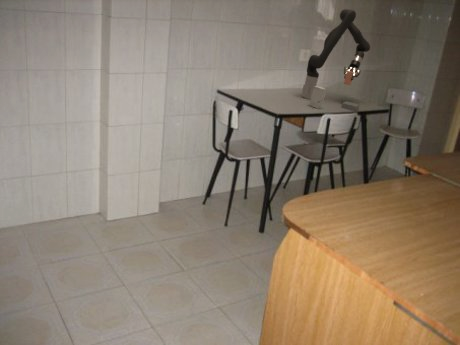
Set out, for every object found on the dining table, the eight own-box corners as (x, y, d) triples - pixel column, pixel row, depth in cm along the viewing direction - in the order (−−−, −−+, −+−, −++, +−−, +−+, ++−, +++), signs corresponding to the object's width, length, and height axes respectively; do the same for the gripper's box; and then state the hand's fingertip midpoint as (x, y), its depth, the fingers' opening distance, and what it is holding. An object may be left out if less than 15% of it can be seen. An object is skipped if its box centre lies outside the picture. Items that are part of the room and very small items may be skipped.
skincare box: (308, 105, 346) (313, 85, 340) (312, 104, 350) (317, 85, 345) (318, 108, 341) (323, 88, 336) (322, 108, 346) (327, 88, 340)
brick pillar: (349, 85, 366) (352, 72, 362) (343, 83, 367) (347, 71, 364) (350, 84, 370) (354, 72, 366) (345, 83, 371) (348, 70, 368)
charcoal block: (354, 111, 355) (356, 106, 353) (340, 107, 359) (342, 102, 358) (358, 109, 364) (359, 104, 363) (345, 106, 369) (346, 101, 367)
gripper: (347, 57, 371) (339, 73, 365) (364, 61, 365) (357, 78, 359) (347, 63, 377) (339, 80, 371) (364, 68, 372) (356, 84, 366)
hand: (348, 79), depth 365 cm, fingers closed on brick pillar, 4 cm apart
